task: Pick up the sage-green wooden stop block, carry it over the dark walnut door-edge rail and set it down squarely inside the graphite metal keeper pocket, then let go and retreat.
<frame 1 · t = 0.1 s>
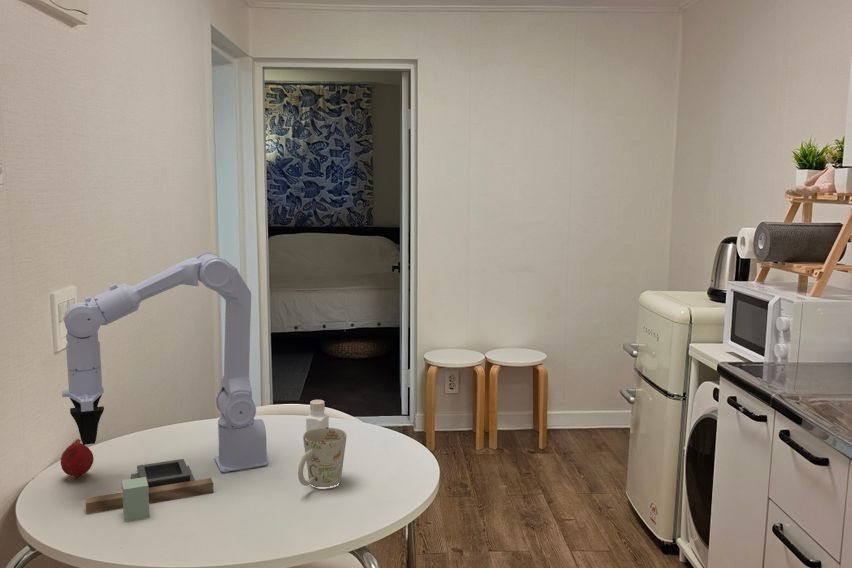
hand: (88, 436, 141), 10 cm above the table, fingers open, 7 cm apart
door edge rail: (151, 500, 138), on the table
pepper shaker: (317, 443, 168), on the table
stop block: (136, 515, 132), on the table
mug: (319, 488, 144), on the table
onion: (78, 479, 147), on the table
keeper: (163, 483, 145), on the table
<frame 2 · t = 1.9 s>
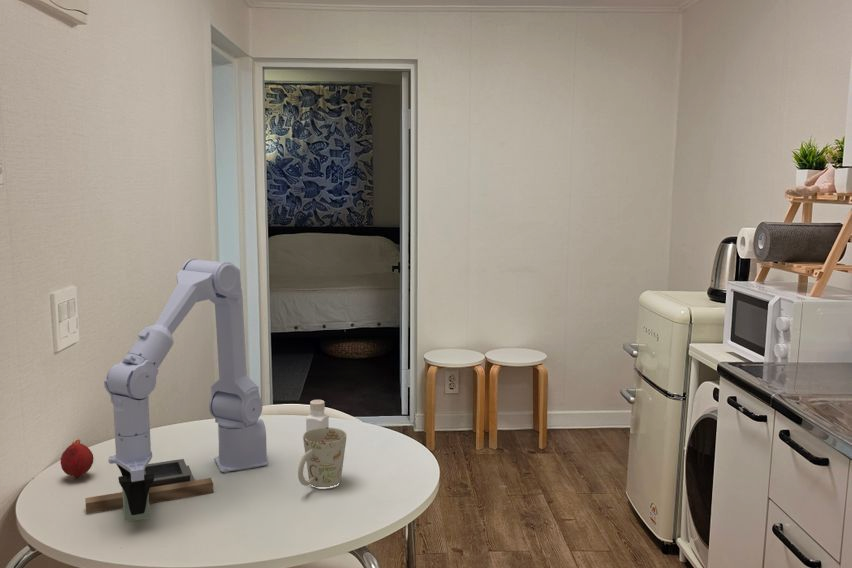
hand: (135, 504, 132), 2 cm above the table, fingers open, 7 cm apart
nothing on the table moved.
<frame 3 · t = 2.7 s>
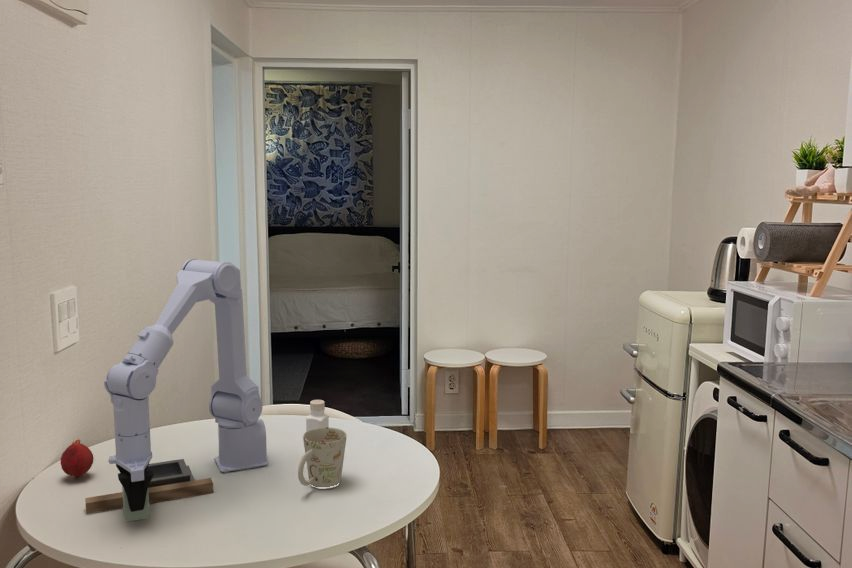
hand: (135, 504, 132), 2 cm above the table, fingers closed on stop block, 4 cm apart
stop block: (136, 514, 132), on the table, touching gripper
everything else where it was.
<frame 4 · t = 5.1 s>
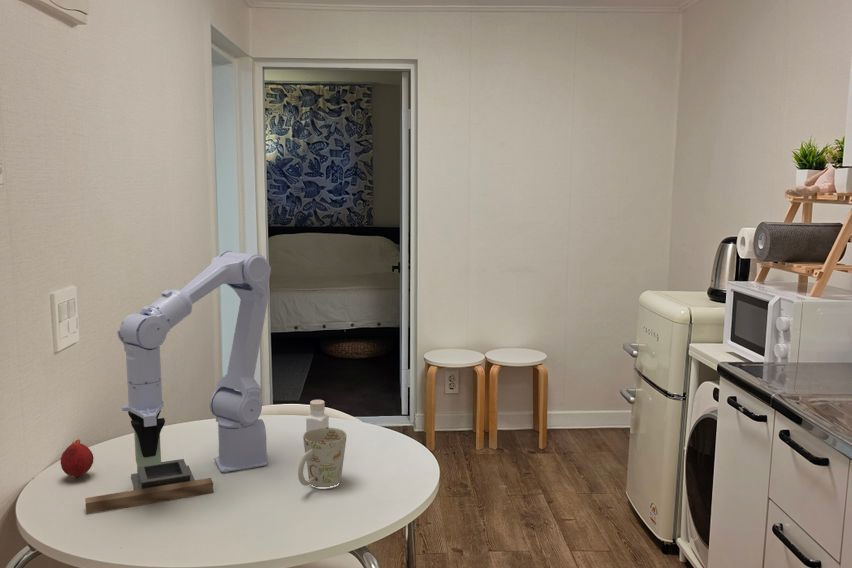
hand: (147, 451, 136), 9 cm above the table, fingers closed on stop block, 4 cm apart
stop block: (148, 461, 137), point 7 cm above the table, touching gripper
everything else where it was.
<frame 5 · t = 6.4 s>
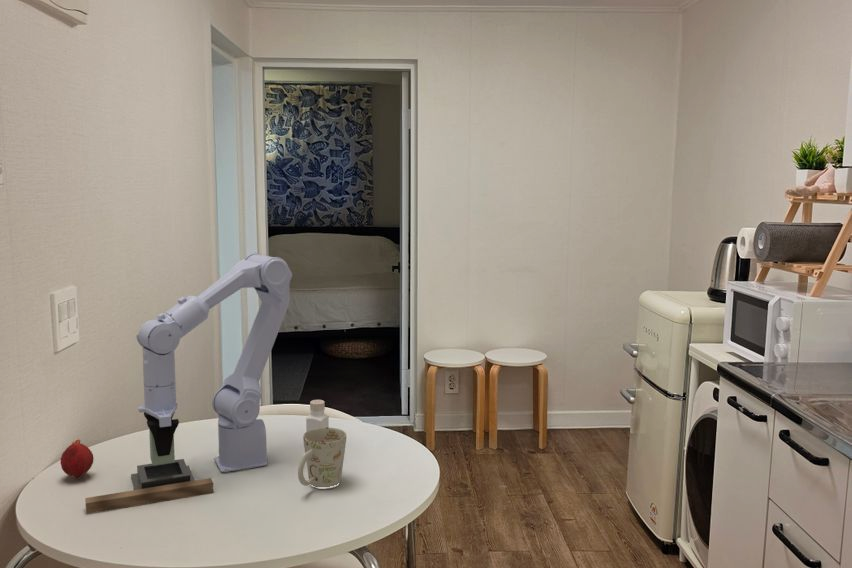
hand: (162, 451, 144), 7 cm above the table, fingers closed on stop block, 4 cm apart
stop block: (162, 460, 144), point 5 cm above the table, touching gripper
everything else where it was.
when the fingers open (4 cm above the table, at t = 7.4 s): stop block drops 1 cm, resting on keeper.
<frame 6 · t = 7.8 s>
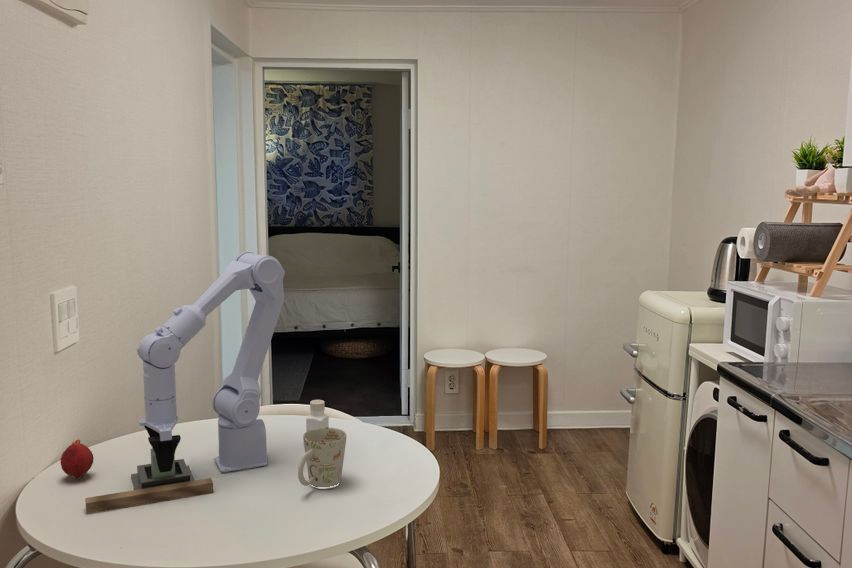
hand: (163, 463, 145), 4 cm above the table, fingers open, 7 cm apart
stop block: (163, 480, 145), point 1 cm above the table, touching keeper
everything else where it was.
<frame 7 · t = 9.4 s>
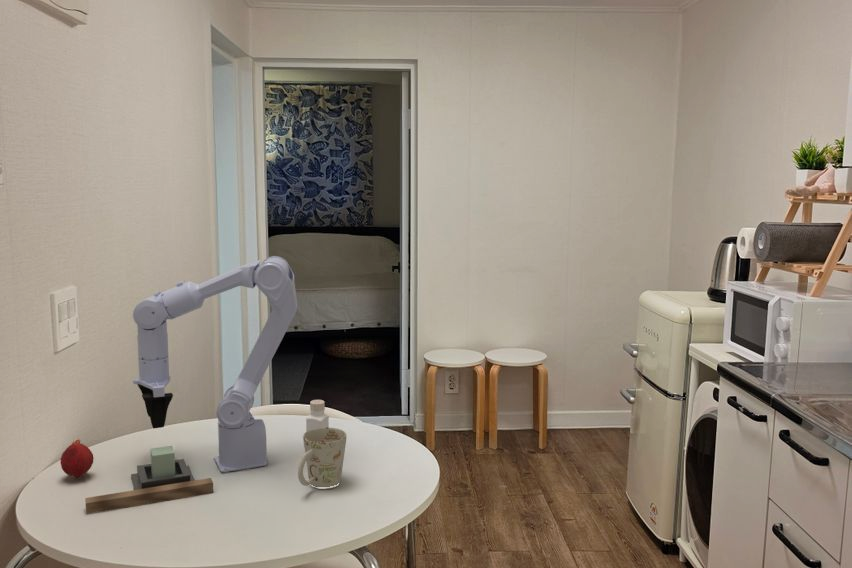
hand: (155, 421, 152), 9 cm above the table, fingers open, 7 cm apart
nothing on the table moved.
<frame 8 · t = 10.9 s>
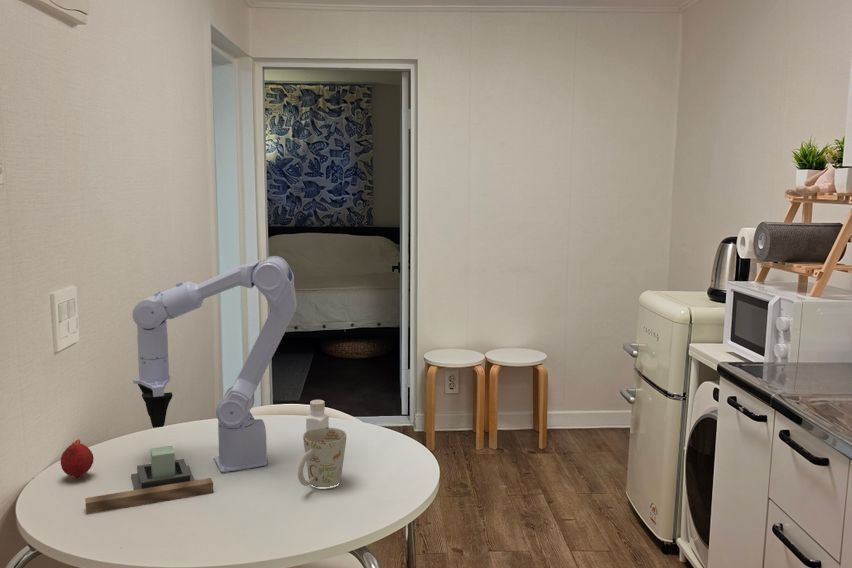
hand: (156, 420, 153), 9 cm above the table, fingers open, 7 cm apart
nothing on the table moved.
at the end: stop block 0.0 cm off-centre on the keeper, point 0.6 cm above the keeper's base; stop block tilted 0°; the gripper is holding nothing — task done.
